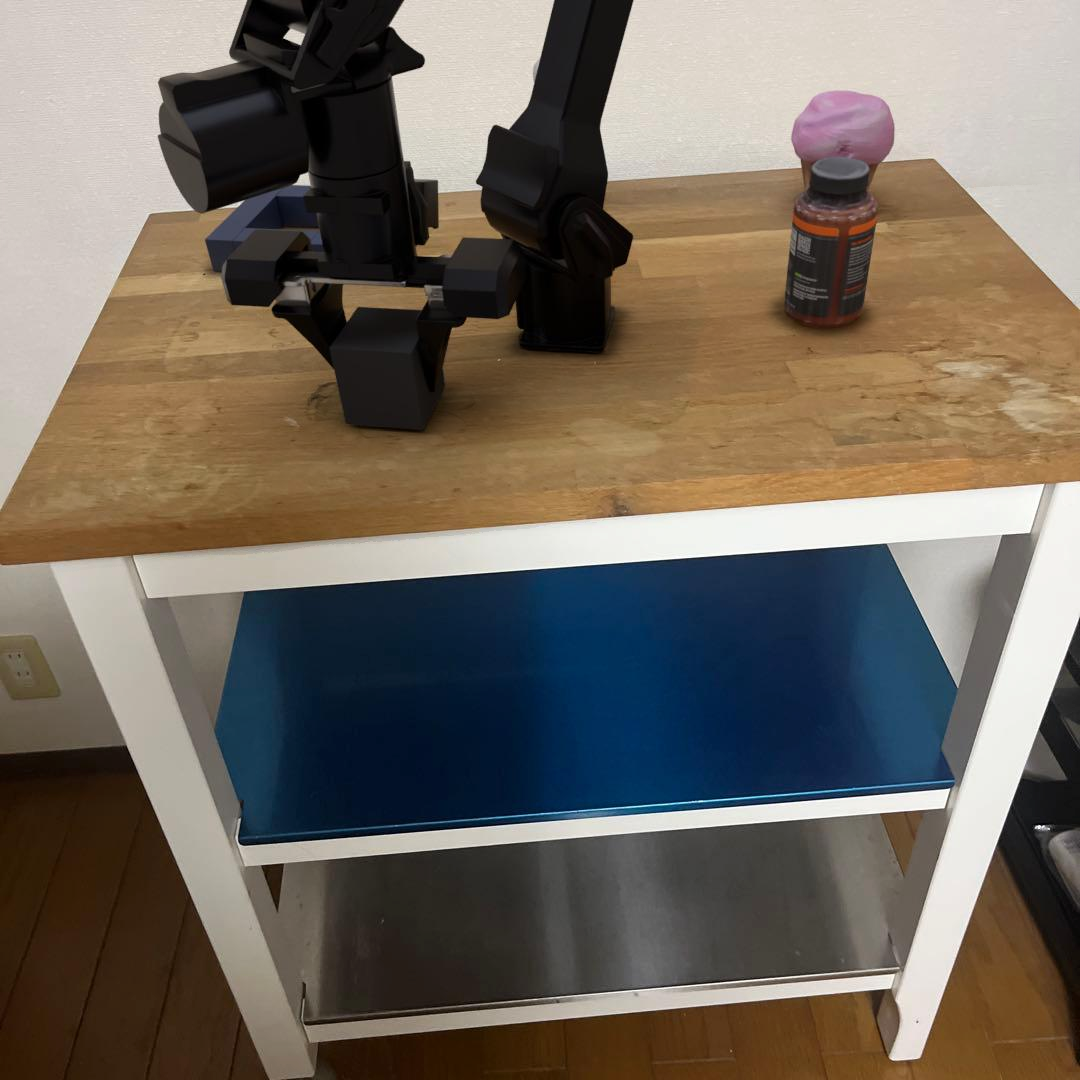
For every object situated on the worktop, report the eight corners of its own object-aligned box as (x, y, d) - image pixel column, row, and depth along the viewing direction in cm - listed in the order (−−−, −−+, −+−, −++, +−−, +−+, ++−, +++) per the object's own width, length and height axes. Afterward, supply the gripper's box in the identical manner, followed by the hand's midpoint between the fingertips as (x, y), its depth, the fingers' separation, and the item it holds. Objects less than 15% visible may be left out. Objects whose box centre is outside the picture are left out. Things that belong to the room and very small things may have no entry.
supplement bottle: (869, 300, 80) (893, 156, 73) (852, 336, 76) (877, 187, 69) (793, 289, 82) (809, 147, 75) (773, 323, 78) (788, 177, 71)
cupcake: (780, 188, 98) (791, 77, 91) (874, 186, 97) (892, 74, 90) (789, 228, 91) (802, 112, 84) (890, 226, 90) (910, 109, 84)
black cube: (445, 386, 74) (435, 310, 70) (423, 430, 70) (411, 352, 66) (371, 381, 75) (357, 306, 71) (345, 424, 71) (329, 347, 67)
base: (387, 218, 97) (383, 187, 95) (343, 277, 88) (337, 244, 86) (268, 214, 100) (261, 183, 98) (213, 271, 91) (204, 239, 89)
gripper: (536, 116, 65) (548, 335, 75) (263, 112, 69) (310, 321, 79) (495, 186, 57) (515, 420, 67) (188, 177, 60) (250, 401, 71)
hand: (393, 386), depth 71 cm, fingers closed on black cube, 5 cm apart
